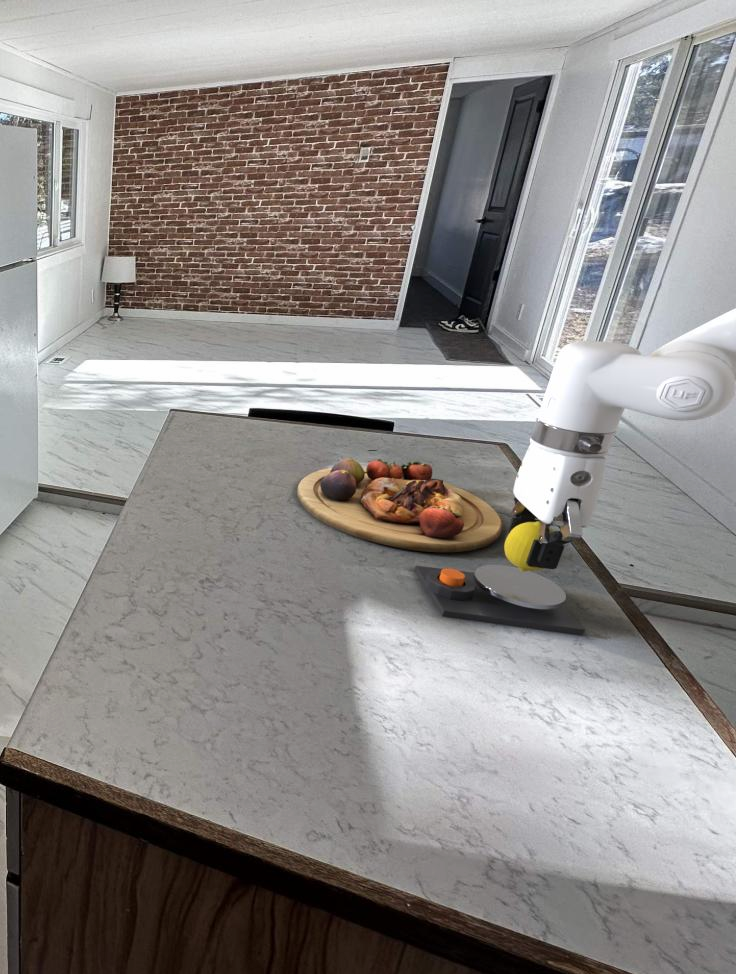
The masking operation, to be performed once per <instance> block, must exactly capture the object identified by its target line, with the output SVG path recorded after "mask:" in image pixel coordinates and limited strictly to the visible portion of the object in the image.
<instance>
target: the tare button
mask: <svg viewBox="0 0 736 974" xmlns="http://www.w3.org/2000/svg"><path fill="white" fill-rule="evenodd" d="M442 569H443V570H442V571H441V574H440V578H439V580H440V581H441V582H443V583H444V584H447V585H450V586H455V587H462V586H463V583H464V580H465V575H464V574H463V573H462V572H460V571H461V570H457V569H454V568H448V567H447V568H442Z"/></svg>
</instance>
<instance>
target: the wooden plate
mask: <svg viewBox="0 0 736 974" xmlns="http://www.w3.org/2000/svg"><path fill="white" fill-rule="evenodd" d="M367 462H368V465H367V466H362V464H360V463H359V462H358V461H356V460H354V459H353V458H352V457H348V458H345V459H342V460H340V461H338V462H336V463H335V464H334V465H333V466H332V467H329V468H324V469H319V470H315V471H313V472H311V473H309V474H307V475H305V476H304V477H303V478H302V479H301V480H300V481H299V483H298V485H297V489H296V494H297V499H298V500H299V503H300V504H301V505H302V507H303V509H305V510H306V511H307V512H308V513H309V514H311V516H313V517H314V518H316V519H317V520H319V521H320V522H322V523H324V524H326V525H327V526H330V527H332V528H334V529H336V530H338V531H341V532H343V533H344V534H348V535H350V536H353V537H356V538H358V539H362V540H364V541H368V542H372V543H375V544H380V545H383V546H388V547H393V548H397V549H403V550H409V551H418V552H425V553H461V552H468V551H474V550H478V549H480V548H484V547H487V546H489V545H491V544H493V543H494V542H495V541H497V540H498V539H499V538H500V535H501V534H502V531H503V527H504V526H503V521H502V519H501V517H500V516H499V514H498V512H497V511H496V510H495V509H494V508H493V507H492V506H491V505H489V503H487V502H486V501H484V500H482V498H480V497H478V496H476V495H475V494H472V493H471V492H469V491H467V490H464V489H462V488H460V487H458V486H455V485H452V484H449V483H447V482H444V479H438V478H432V477H433V467H432V466H431V464H428V463H426V462H423V463H422V462H421V461H420V460H417V461H415V460H413V461H412V462H411V461H408V462H407V464H402V465H399V464H396V462H395V461H393V462H391V463H389V464H388V462H387V461H383V460H382V459H381V458H378V459H377V460H371V461H367Z"/></svg>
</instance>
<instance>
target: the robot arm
mask: <svg viewBox="0 0 736 974" xmlns="http://www.w3.org/2000/svg"><path fill="white" fill-rule="evenodd" d="M735 394H736V308H733V309H731V310H729V311H727V312H725V313H723V314H721V315H719V316H717V317H715V318H713V319H712V320H709V321H708V322H705V323H703V324H702V325H700V326H698V327H696V328H693V329H692V330H690V331H688V332H686V333H684V334H682V335H680V336H677V337H676V338H674V339H673V340H670V341H669V342H667V343H665V344H663V345H662V346H660V347H658V348H657V349H656V350H654V351H653V352H651V353H650V354H649V355H645V354H642V353H641V351H640V350H638V349H637V348H635V347H633V346H630V345H627V344H623V343H618V342H610V341H601V340H579V341H571V342H570V343H567V344H565V345H564V346H563V347H561V349H560V350H559V351H558V354H557V357H556V359H555V362H554V365H553V368H552V371H551V373H550V377H549V380H548V383H547V386H546V389H545V392H544V395H543V399H542V401H541V405H540V408H539V411H538V414H537V417H536V420H535V423H534V425H533V429H532V432H531V433H530V434H531V435H530V438H529V443H530V444H529V446H528V447H527V450H526V452H525V454H524V457H523V458H522V461H521V464H520V467H519V469H518V471H517V475H516V477H515V481H514V483H513V490H512V492H513V496H514V498H513V501H514V507H513V508H512V510H511V516H512V517H511V518H510V522H509V525H508V528H507V530H506V534H505V537H504V542H505V541H506V538H507V537H508V535H509V533H510V532H511V530H512V529H513V528H515V527H516V526H518V525H520V524H522V523H527V522H537V521H540V530H539V538H538V540H535V539H534V541H533V544H532V546H531V549H530V552H529V555H528V558H527V561H526V564H527V565H528V566H530V567H537V568H544V569H546V570H556V569H558V566H559V563H560V560H561V557H562V554H563V552H564V549H565V547H568V546H569V544H570V543H571V542H573V541H575V540H579V539H582V538H583V528H588V527H589V526H590V524H591V523H592V520H593V518H594V515H595V512H596V508H597V506H598V502H599V499H600V495H601V492H602V489H603V488H602V487H603V484H604V479H605V473H606V465H607V458H606V456H607V455H608V453H609V451H610V449H611V445H612V443H613V441H614V438H615V434H616V432H617V429H618V427H619V424H620V422H621V419H622V417H623V414H624V411H625V409H626V410H631V411H634V412H637V413H641V414H645V415H648V416H652V417H655V418H660V419H665V420H671V421H679V422H680V421H681V422H682V421H683V422H685V421H686V422H687V421H698V420H703V419H706V418H710V417H712V416H714V415H717V414H718V413H720V412H722V411H724V410H725V409H726V408H727V407H728V406H730V404H731V402H732V401H733V400H734V397H735ZM555 518H561V519H562V520H561V521H560V520H554V519H555ZM551 526H552V527H560V528H559V530H553V531H554V532H552V533H550V534H549V531H550V528H551Z"/></svg>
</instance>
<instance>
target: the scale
mask: <svg viewBox="0 0 736 974" xmlns="http://www.w3.org/2000/svg"><path fill="white" fill-rule="evenodd" d="M443 569H444V568H439V567H432V566H422V565H415V566H414V571H413V572H414V574H415V575H416V577H417V578H418V580H419V581H420V583H421V585H422V586H423V588H424V590H425V591H426V593H427V594H428V596H429V598H430V599H431V601H432V602H433V604H434V606H435V608H436V609H437V611H438V612H439V614H440V616H441V617H443V618H450V619H458V620H465V621H472V622H479V623H488V624H494V625H501V626H509V627H515V628H522V629H530V630H538V631H543V632H544V631H545V632H551V633H558V634H566V635H572V636H573V635H574V636H581V637H583V635H584V633H585V628H584V627H583V626H582V625H581V624H580V623H579V621H578V620H577V619H576V618H575V617H574V616H573V615H572V614H571V612H569V610H568V609H567V608H566V607H565V606H564V604H563V605H562V606H561V607H559V608H556V609H546V610H545V609H533V608H527V607H523V606H519V605H515V604H512V603H509V602H506V601H503V600H501V599H499V598H496V597H494V596H492V595H491V594H489V593H487V592H486V591H484V590H483V589H481V588H480V587H479V586H478V585H477V584H476V582H475V581H474V573H475V571H474V572H473V571H464V570H459V571H460V572H462V573H463V574H464V575H465V580H464V583H463V586H462V587H455V586H450V585H447V584H444V583H443V582H441V581H440V580H439V578H440V574H441V571H442V570H443Z"/></svg>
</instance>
